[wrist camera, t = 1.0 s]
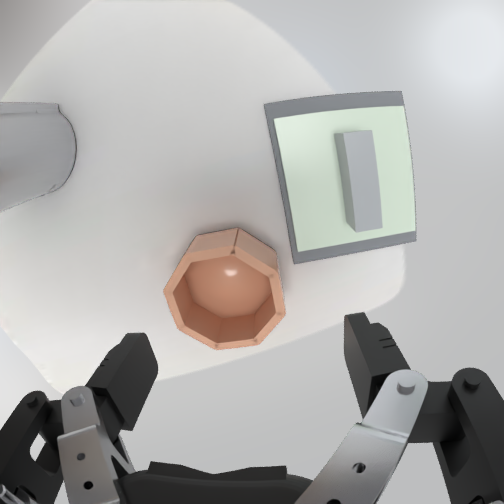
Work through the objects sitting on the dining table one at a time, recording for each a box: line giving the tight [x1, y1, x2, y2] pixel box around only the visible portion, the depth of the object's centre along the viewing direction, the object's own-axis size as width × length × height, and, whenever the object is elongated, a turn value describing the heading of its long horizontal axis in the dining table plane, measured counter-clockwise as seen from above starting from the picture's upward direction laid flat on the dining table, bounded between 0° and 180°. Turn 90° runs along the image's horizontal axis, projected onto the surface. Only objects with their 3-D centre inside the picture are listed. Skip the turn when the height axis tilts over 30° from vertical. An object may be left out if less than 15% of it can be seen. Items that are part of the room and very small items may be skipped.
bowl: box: [163, 228, 286, 350], centre depth 28 cm, size 10×10×5 cm
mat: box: [264, 91, 416, 264], centre depth 25 cm, size 15×13×1 cm
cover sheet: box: [273, 106, 416, 252], centre depth 23 cm, size 12×12×4 cm
